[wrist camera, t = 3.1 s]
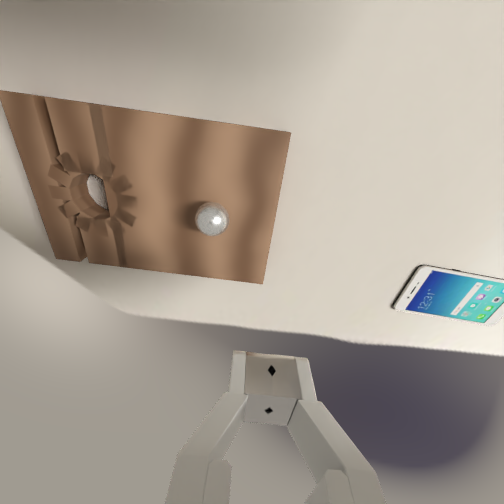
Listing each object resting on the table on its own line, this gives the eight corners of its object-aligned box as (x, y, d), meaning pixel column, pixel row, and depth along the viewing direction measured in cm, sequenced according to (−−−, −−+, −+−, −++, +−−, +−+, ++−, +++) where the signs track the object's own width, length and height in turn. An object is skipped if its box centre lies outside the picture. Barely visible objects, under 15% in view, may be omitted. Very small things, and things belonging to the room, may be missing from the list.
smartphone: (492, 327, 32) (392, 310, 31) (487, 322, 32) (389, 306, 32) (534, 285, 28) (422, 265, 27) (527, 281, 29) (417, 261, 28)
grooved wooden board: (288, 131, 21) (291, 132, 19) (262, 272, 29) (262, 284, 27) (25, 93, 20) (-4, 89, 18) (71, 248, 28) (55, 258, 26)
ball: (232, 200, 22) (228, 211, 19) (229, 230, 24) (225, 244, 21) (199, 195, 22) (190, 206, 19) (199, 226, 23) (190, 239, 21)
